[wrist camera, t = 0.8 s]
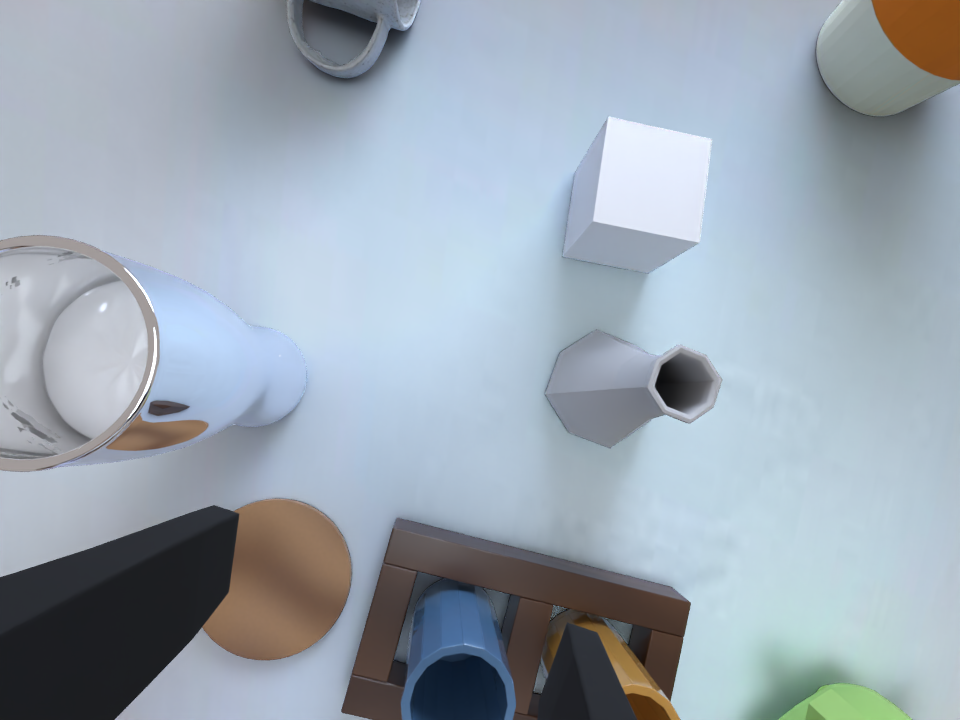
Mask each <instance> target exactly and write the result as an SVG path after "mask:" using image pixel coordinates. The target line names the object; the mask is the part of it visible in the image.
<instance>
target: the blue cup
mask: <svg viewBox="0 0 960 720" xmlns="http://www.w3.org/2000/svg"><path fill="white" fill-rule="evenodd" d="M515 708H516V698H515V690H514V682H513V679H512V675H511V671H510V667H509V663H508V659H507V655H506V651H505V647H504V643H503V640H502V636H501V632H500V628H499V624H498V620H497V616H496V612H495V609H494V606H493V604H492V601H491V599H490V597H489V596H488V594H487V593H486V591H485V590H484V589H483V588H482V587H479V586H475V585H471V584H467V583H463V582H459V581H455V580H451V579H447V578H446V579H442V580H440V581H438V582H436V583H434V584H432V585H431V586H430V587H428V588H427V589H426V590H425V591H424V592H423V594H422V595H421V596H420V598H419V599H418V601H417V603H416V605H415V608H414V612H413V617H412V621H411V627H410V635H409V643H408V650H407V658H406V666H405V673H404V681H403V689H402V697H401V713H402V720H513V717H514V713H515Z"/></svg>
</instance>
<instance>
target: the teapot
mask: <svg viewBox="0 0 960 720" xmlns="http://www.w3.org/2000/svg"><path fill="white" fill-rule="evenodd" d="M778 720H912V719H911V718H910V717H909V716H908V715H907V714H905V713H904V712H903V711H902V710H901V709H899V708H898V707H897V706H896V705H894V704H893V703H891V702H890V701H889V700H887V699H886V698H884V697H883V696H881V695H880V694H878V693H877V692H875V691H874V690H871V689H869V688H866V687H863V686H859V685H854V684H846V683H836V684H832V685H824V686H822V687H820V688H819V689H818V690H817V691H816V693H815V694H813V695H811V696H810V697H808V698H806V699H805V700H803V701H802V702H800V703H799V704H797V705H796V706H795V707H793V708H792V709H791V710H789V711H788V712H787V713H785V714H784V715H783V716H782V717H781V718H779V719H778Z"/></svg>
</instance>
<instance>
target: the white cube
mask: <svg viewBox="0 0 960 720" xmlns="http://www.w3.org/2000/svg"><path fill="white" fill-rule="evenodd" d="M711 146H712V139H709V138H704V137H700V136H695V135H690V134H686V133H681V132H677V131H672V130H668V129H663V128H659V127H654V126H650V125H645V124H640V123H636V122H631V121H627V120H622V119H618V118H613V117H609V116H608V118H607V119H606V121H605V123H604V124H603V126H602V128H601V129H600V131H599V133H598V134H597V136H596V138H595V139H594V141H593V143H592V144H591V146H590V148H589V149H588V151H587V153H586V154H585V156H584V158H583V160H582V161H581V163H580V165H579V166H578V168H577V170H576V171H575V176H574V182H573V189H572V195H571V202H570V208H569V215H568V222H567V228H566V235H565V241H564V248H563V254H562V257H565V258H571V259H576V260H581V261H586V262H591V263H596V264H601V265H607V266H612V267H617V268H622V269H627V270H632V271H638V272H643V273H650V272H652V271H653V270H655V269H657V268H658V267H660V266H662V265H663V264H665V263H667V262H669V261H670V260H672V259H674V258H675V257H677V256H679V255H680V254H682V253H684V252H685V251H687V250H689V249H690V248H692V247H694V246H695V245H697V244H699V243H700V237H701V229H702V221H703V212H704V204H705V196H706V187H707V179H708V171H709V162H710V154H711Z"/></svg>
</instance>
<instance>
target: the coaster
mask: <svg viewBox="0 0 960 720" xmlns="http://www.w3.org/2000/svg"><path fill="white" fill-rule="evenodd" d="M234 512H236V513H239V521H238V529H237V536H236V543H235V551H234V558H233V565H232V573H231V580H230V588H229V593H228V594H227V596H226V597H225V598H224V599H223V601H222V602H221V603H220V605H219V606H218V607H217V609H216V610H215V611H214V613H213V614H212V615H211V616H210V618H209V619H208V620H207V621H206V623H205V624H204V625H203V626H202V628H203V629H204V631H205V632H206V633H207V634H208V636H209V637H210V638H211V639H212V640H213V641H214V642H216V643H217V644H218V645H219V646H221V647H222V648H224V649H225V650H227V651H229V652H231V653H233V654H235V655H237V656H241V657H244V658H247V659H254V660H275V659H281V658H285V657H289V656H292V655H294V654H297V653H300V652H301V651H303V650H305V649H307V648H309V647H310V646H312V645H313V644H315V643H316V642H317V641H319V640H320V639H321V638H322V637H323V636H324V635H325V634H326V633H327V632H328V631H329V630H330V629H331V627H332V626H333V625H334V623H335V622H336V620H337V619H338V617H339V616H340V614H341V612H342V610H343V608H344V606H345V603H346V600H347V598H348V595H349V590H350V586H351V577H352V569H351V559H350V554H349V551H348V547H347V544H346V542H345V540H344V538H343V536H342V534H341V533H340V531H339V530H338V528H337V527H336V526H335V524H334V523H333V522H332V521H331V520H330V519H329V518H328V517H327V516H326V515H324V514H323V513H322V512H320V511H319V510H317V509H316V508H314V507H312V506H310V505H308V504H305V503H302V502H299V501H295V500H290V499H266V500H261V501H256V502H253V503H250V504H248V505H245V506H243V507H241V508H239V509H237V510H235V511H234Z"/></svg>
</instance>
